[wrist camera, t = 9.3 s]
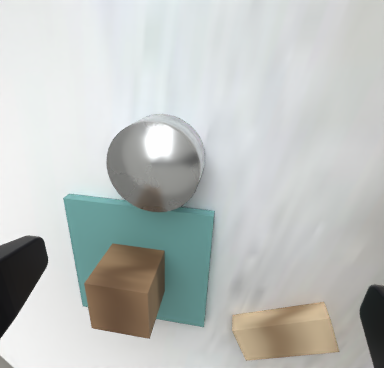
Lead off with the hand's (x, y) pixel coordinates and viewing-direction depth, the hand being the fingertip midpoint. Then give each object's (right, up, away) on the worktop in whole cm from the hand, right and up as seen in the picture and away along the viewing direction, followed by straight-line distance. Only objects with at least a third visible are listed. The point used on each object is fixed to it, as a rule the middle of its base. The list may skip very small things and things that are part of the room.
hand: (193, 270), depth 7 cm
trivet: (-5, -5, +16) cm, 17 cm away
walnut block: (-5, -5, +15) cm, 17 cm away
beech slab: (+8, -10, +17) cm, 21 cm away
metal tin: (-2, +4, +12) cm, 13 cm away
